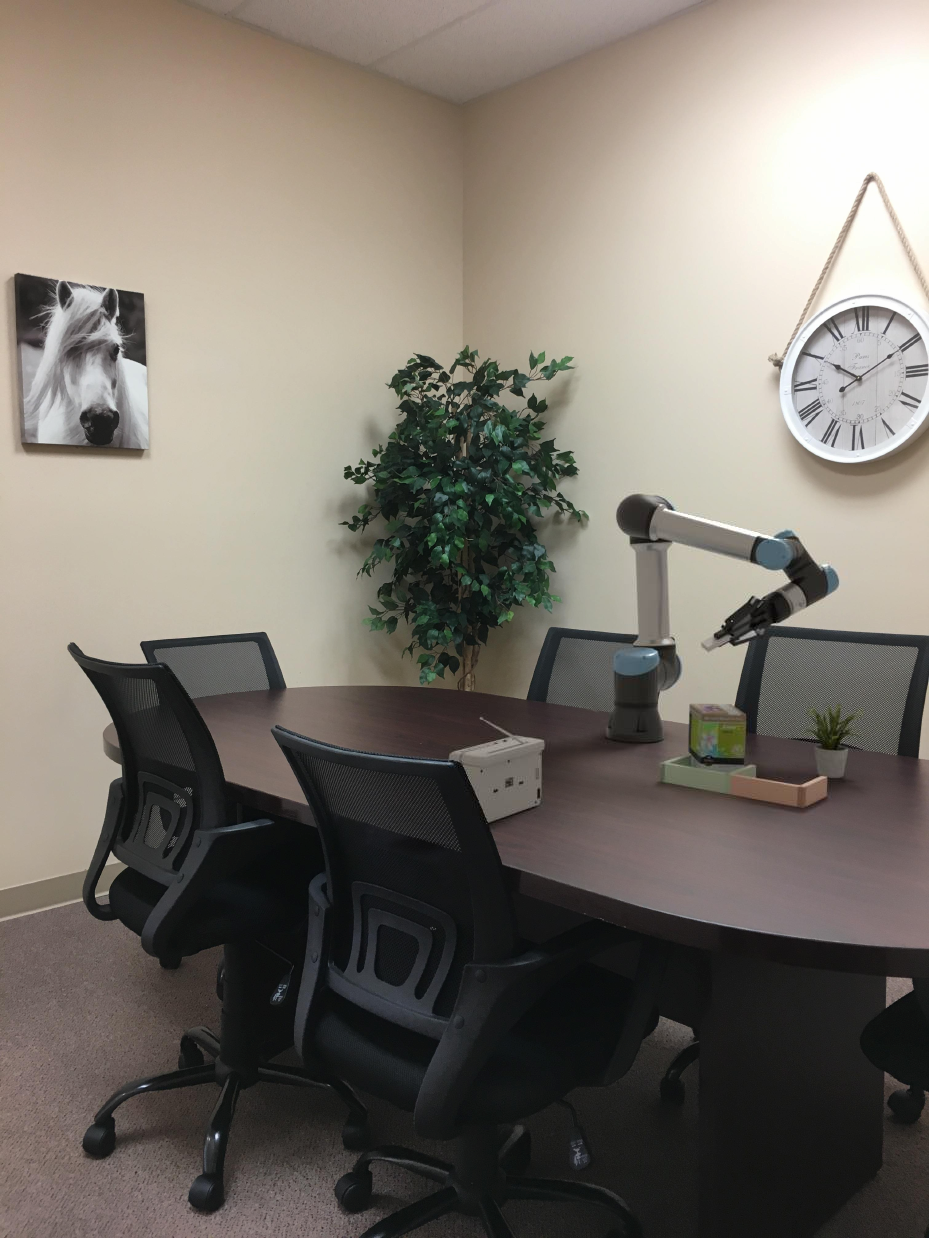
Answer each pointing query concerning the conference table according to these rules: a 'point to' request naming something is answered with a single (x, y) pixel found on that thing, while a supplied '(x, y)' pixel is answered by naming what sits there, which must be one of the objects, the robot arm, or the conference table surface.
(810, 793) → the terracotta bay
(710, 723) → the tea box
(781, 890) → the conference table surface
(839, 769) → the house plant
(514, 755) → the stereo radio cassette player
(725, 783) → the green bay
